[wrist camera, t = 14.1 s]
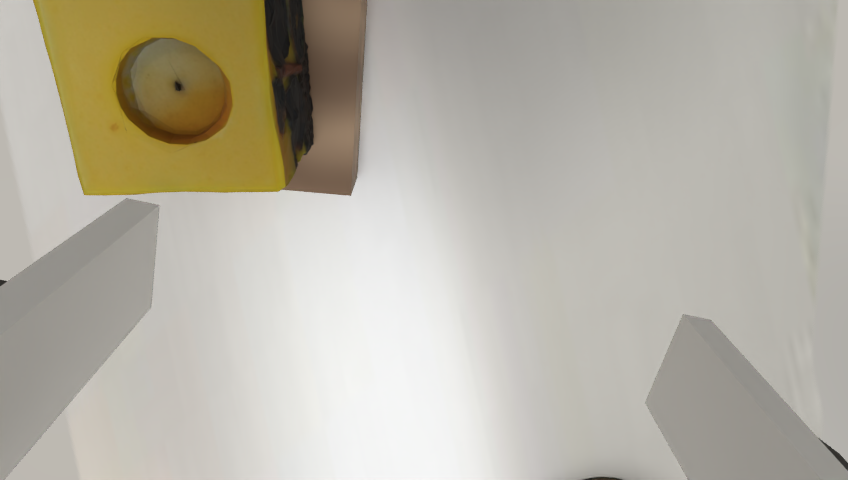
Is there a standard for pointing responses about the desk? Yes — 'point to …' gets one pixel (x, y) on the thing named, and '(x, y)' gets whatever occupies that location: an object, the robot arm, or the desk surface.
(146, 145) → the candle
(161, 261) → the desk surface
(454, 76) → the desk surface
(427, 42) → the desk surface
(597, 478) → the pillar candle
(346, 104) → the walnut block
